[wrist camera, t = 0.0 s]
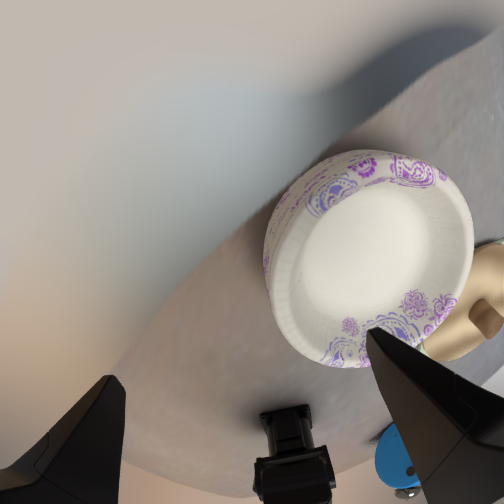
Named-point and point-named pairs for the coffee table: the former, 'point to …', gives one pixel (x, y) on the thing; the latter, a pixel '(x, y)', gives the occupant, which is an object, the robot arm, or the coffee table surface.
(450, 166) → the coffee table surface
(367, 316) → the white and purple bowl
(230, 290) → the coffee table surface
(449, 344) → the lid
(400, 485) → the alarm clock
